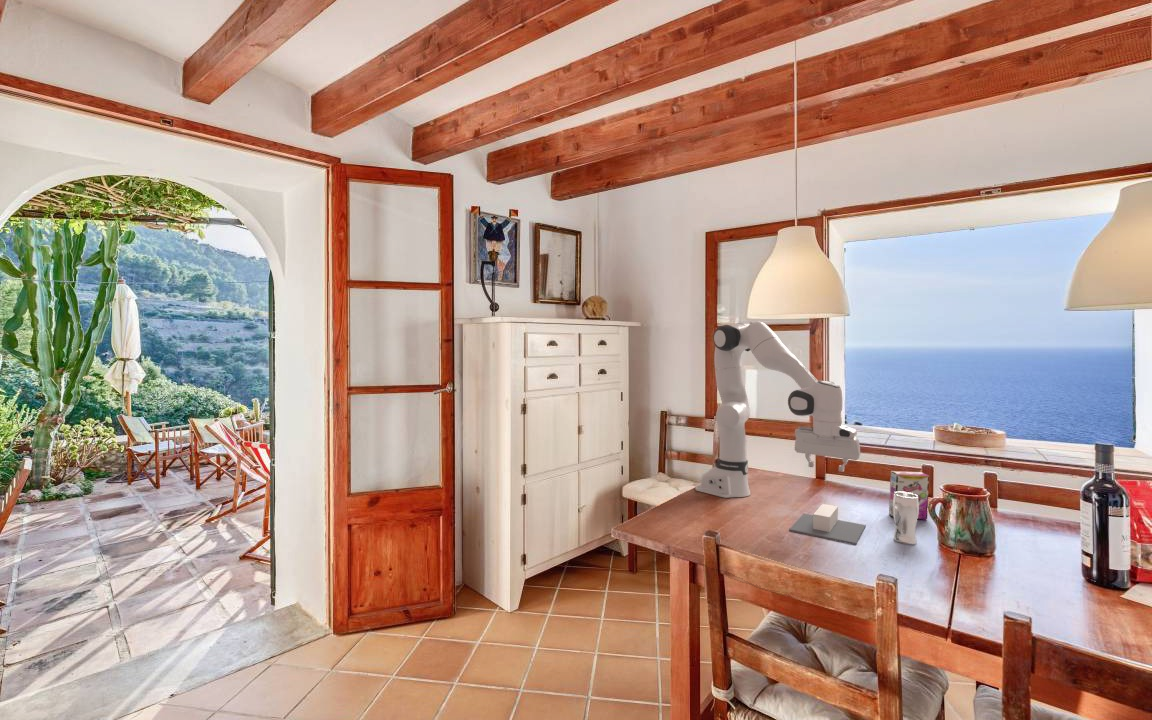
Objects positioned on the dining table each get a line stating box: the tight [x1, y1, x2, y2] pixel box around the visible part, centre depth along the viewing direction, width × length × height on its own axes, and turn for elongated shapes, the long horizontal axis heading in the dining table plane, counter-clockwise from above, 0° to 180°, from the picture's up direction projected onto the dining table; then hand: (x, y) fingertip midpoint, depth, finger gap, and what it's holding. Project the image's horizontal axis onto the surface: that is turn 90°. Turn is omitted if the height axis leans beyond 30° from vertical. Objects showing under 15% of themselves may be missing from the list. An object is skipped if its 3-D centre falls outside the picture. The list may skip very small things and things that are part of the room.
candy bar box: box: [888, 470, 930, 521], centre depth 187 cm, size 11×5×16 cm, turn 84°
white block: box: [813, 503, 839, 532], centre depth 178 cm, size 5×5×14 cm
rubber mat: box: [788, 513, 866, 546], centre depth 176 cm, size 20×20×1 cm
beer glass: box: [893, 492, 919, 546], centre depth 165 cm, size 7×7×15 cm
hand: (826, 469), depth 176 cm, fingers open, 8 cm apart
